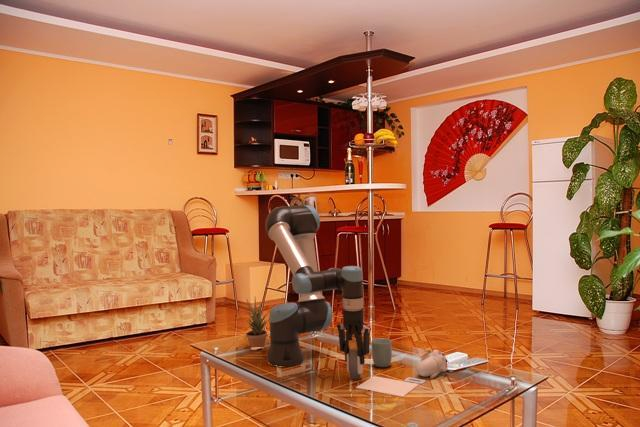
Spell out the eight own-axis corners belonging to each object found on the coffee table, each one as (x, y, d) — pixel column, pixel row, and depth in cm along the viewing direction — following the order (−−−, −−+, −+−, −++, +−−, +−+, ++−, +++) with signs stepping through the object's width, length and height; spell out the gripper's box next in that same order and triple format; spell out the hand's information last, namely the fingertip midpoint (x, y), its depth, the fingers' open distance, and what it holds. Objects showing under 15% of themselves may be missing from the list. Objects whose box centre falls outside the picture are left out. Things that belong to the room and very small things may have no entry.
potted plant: (242, 350, 239) (239, 295, 238) (256, 344, 247) (253, 291, 246) (259, 353, 233) (256, 297, 232) (273, 347, 241) (270, 293, 240)
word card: (403, 381, 191) (403, 380, 191) (408, 377, 194) (408, 376, 194) (421, 384, 187) (421, 383, 187) (426, 380, 190) (426, 379, 190)
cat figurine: (418, 354, 191) (444, 341, 200) (405, 361, 197) (431, 348, 206) (431, 379, 188) (457, 365, 197) (418, 385, 194) (444, 371, 203)
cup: (391, 369, 204) (390, 343, 204) (371, 369, 206) (370, 343, 205) (393, 363, 212) (392, 338, 211) (373, 362, 213) (372, 337, 213)
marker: (347, 378, 196) (346, 340, 195) (353, 375, 199) (352, 338, 198) (357, 380, 193) (356, 342, 193) (363, 376, 197) (361, 339, 196)
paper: (355, 388, 186) (355, 387, 186) (373, 376, 197) (373, 376, 197) (402, 397, 176) (402, 396, 176) (419, 384, 186) (419, 384, 186)
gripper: (328, 308, 197) (330, 370, 198) (368, 313, 187) (370, 378, 188) (339, 304, 203) (341, 365, 204) (378, 308, 193) (380, 372, 194)
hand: (355, 371), depth 196 cm, fingers closed on marker, 4 cm apart
